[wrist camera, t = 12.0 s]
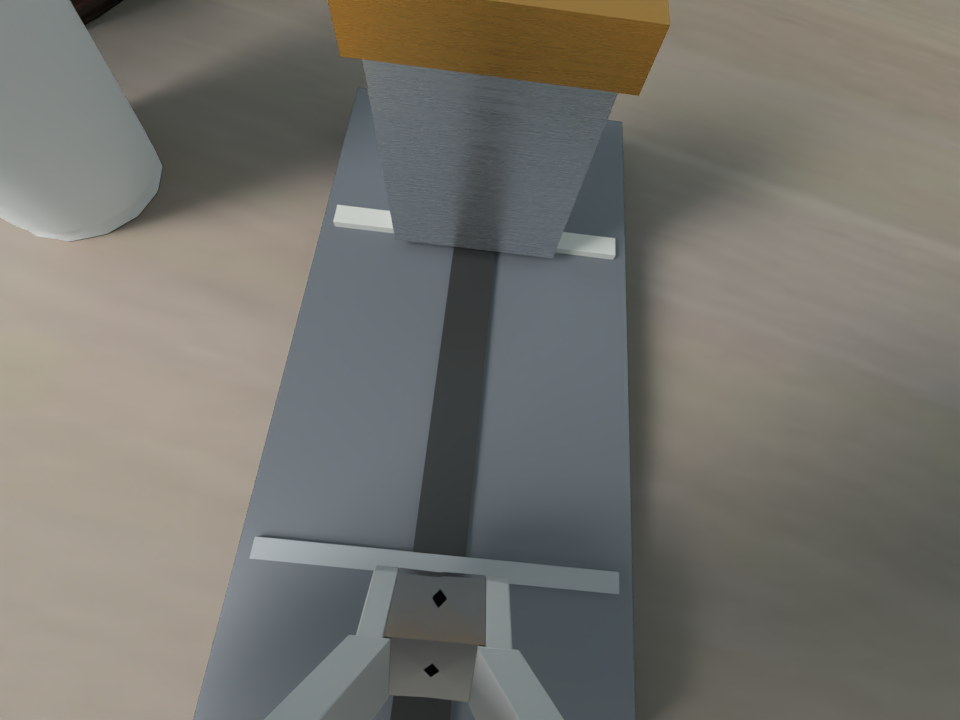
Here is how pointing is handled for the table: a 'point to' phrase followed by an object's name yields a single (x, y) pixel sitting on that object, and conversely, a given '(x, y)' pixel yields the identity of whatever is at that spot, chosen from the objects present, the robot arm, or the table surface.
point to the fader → (494, 107)
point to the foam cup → (66, 129)
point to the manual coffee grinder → (92, 8)
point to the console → (444, 449)
